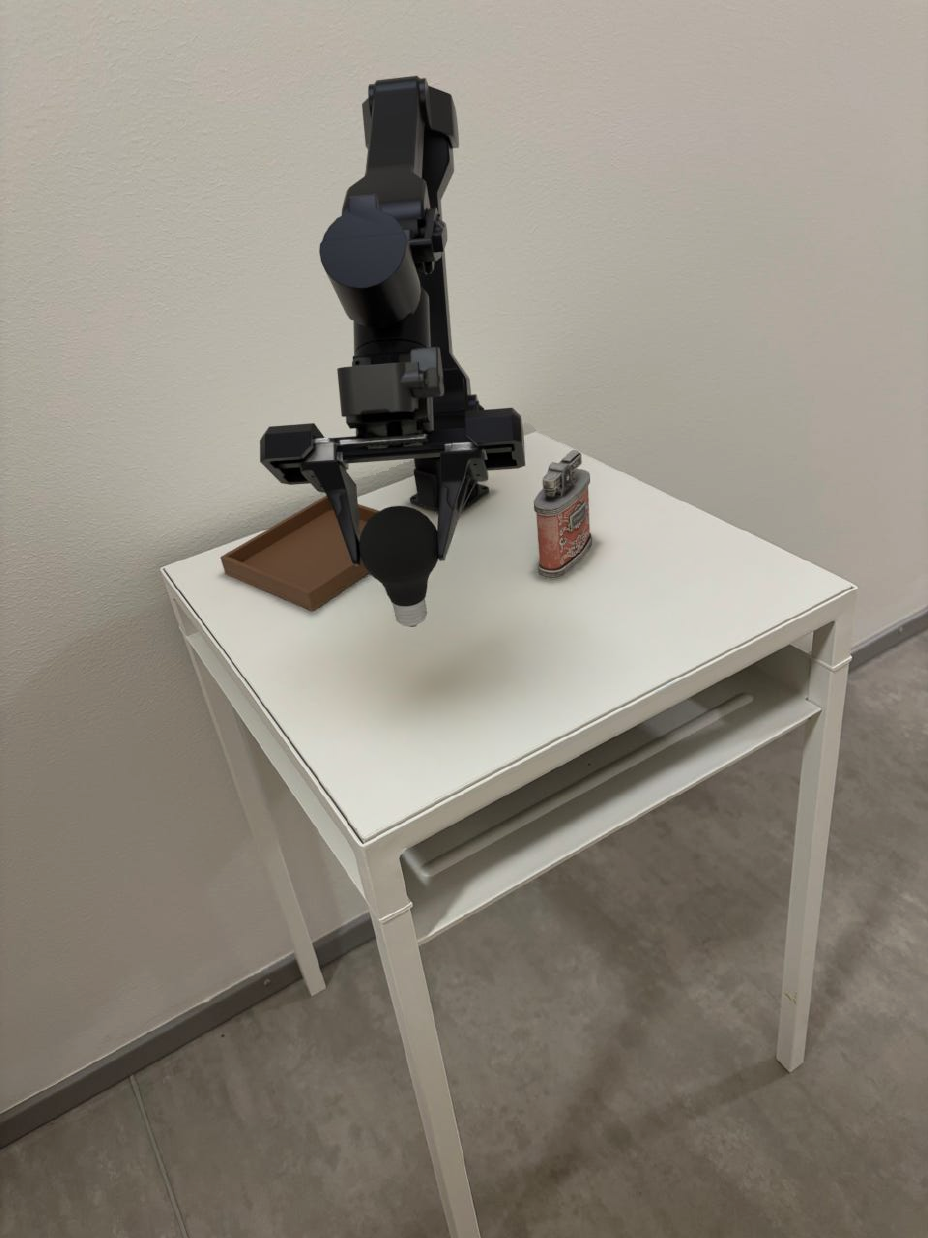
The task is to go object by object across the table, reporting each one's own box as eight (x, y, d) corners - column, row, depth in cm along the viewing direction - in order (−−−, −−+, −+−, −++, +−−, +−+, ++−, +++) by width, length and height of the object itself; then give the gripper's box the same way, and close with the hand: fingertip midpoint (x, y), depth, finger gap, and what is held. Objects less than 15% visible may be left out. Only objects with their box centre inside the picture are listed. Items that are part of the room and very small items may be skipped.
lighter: (562, 582, 88) (557, 485, 82) (530, 574, 89) (523, 479, 84) (599, 540, 93) (597, 447, 87) (568, 534, 95) (564, 441, 89)
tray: (331, 510, 104) (328, 494, 103) (419, 539, 97) (416, 522, 96) (225, 573, 95) (220, 557, 94) (312, 611, 88) (308, 593, 87)
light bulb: (360, 639, 72) (336, 524, 66) (400, 597, 76) (380, 486, 70) (427, 655, 69) (408, 538, 64) (464, 611, 73) (449, 497, 68)
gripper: (233, 316, 63) (232, 544, 61) (511, 291, 61) (523, 524, 59) (282, 384, 74) (283, 578, 72) (520, 364, 72) (530, 563, 70)
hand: (398, 562), depth 68 cm, fingers closed on light bulb, 6 cm apart
